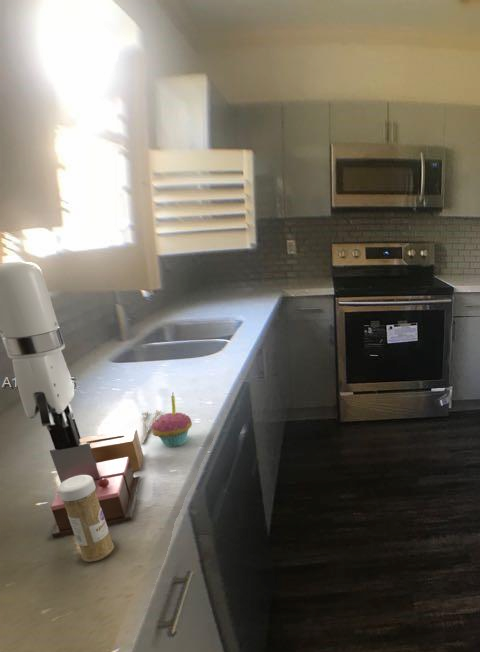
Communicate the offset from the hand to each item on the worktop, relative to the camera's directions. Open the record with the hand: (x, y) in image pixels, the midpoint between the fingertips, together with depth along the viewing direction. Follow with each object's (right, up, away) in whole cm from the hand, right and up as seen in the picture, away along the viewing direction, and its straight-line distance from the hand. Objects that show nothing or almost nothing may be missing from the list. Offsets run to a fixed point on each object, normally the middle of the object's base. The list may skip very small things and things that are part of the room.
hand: (68, 443), depth 79 cm
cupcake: (+6, -4, +28) cm, 29 cm away
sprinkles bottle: (+9, -17, -6) cm, 20 cm away
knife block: (-3, -8, +18) cm, 20 cm away
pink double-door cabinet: (+2, -12, +6) cm, 14 cm away
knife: (0, -8, +3) cm, 9 cm away
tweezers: (-4, -1, +35) cm, 36 cm away
